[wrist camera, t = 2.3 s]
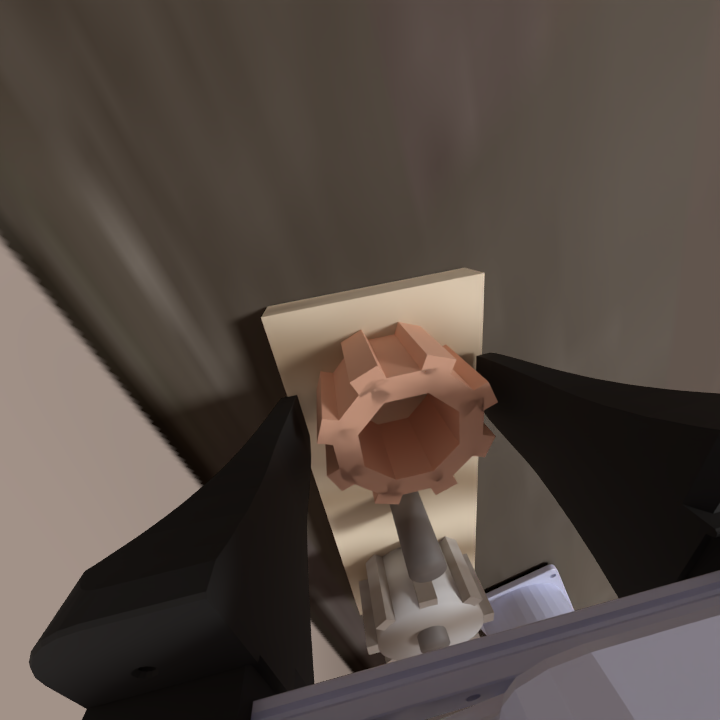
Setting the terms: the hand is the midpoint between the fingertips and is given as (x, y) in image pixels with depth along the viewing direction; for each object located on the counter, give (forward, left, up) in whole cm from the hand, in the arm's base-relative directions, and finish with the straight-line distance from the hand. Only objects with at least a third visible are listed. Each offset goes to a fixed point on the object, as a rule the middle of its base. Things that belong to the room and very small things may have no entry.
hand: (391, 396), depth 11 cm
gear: (0, 0, 0) cm, 0 cm away
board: (-6, +2, -2) cm, 7 cm away
